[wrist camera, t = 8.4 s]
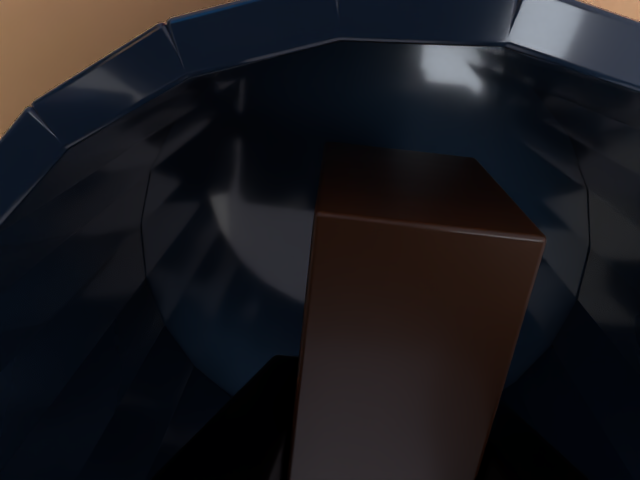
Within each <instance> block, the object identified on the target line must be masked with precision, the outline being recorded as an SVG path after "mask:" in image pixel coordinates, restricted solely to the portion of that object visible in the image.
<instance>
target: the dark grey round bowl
mask: <svg viewBox="0 0 640 480" xmlns="http://www.w3.org/2000/svg"><path fill="white" fill-rule="evenodd" d="M326 142H338V143H347V144H356V145H365V146H374V147H383V148H392V149H401V150H410V151H419V152H428V153H437V154H446V155H454V156H463V157H472V158H475V159H476V160H477V161H478V162H479V163H480V164H481V165H482V166H483V167H484V168H485V170H486V171H487V172H488V173H489V174H490V175H491V176H492V177H493V178H494V180H495V181H496V182H497V183H498V184H499V185H500V186H501V187H502V188H503V190H504V191H505V192H506V193H507V194H508V195H509V196H510V197H511V198H512V200H513V201H514V202H515V203H516V204H517V205H518V206H519V207H520V208H521V210H522V211H523V212H524V213H525V214H526V215H527V216H528V217H529V218H530V220H531V221H532V222H533V223H534V224H535V225H536V226H537V227H538V228H539V230H540V231H541V232H542V233H543V234H544V235H545V236H546V245H545V248H544V252H543V255H542V258H541V262H540V265H539V269H538V272H537V275H536V279H535V282H534V286H533V289H532V292H531V296H530V299H529V303H528V306H527V309H526V313H525V316H524V320H523V323H522V326H521V330H520V333H519V336H518V340H517V343H516V347H515V350H514V353H513V357H512V360H511V364H510V367H509V370H508V374H507V377H506V381H505V384H504V387H503V391H502V394H501V398H500V399H501V400H502V401H503V402H505V403H506V404H507V405H508V406H509V407H510V408H511V409H512V410H513V411H514V412H516V413H517V414H518V415H519V416H520V417H521V418H522V419H523V420H524V421H525V422H527V423H528V424H529V425H530V426H531V427H532V428H533V429H534V430H535V431H536V432H538V433H539V434H540V435H541V436H542V437H543V438H544V439H545V440H546V441H548V442H549V443H550V444H551V445H552V446H553V447H554V448H555V449H556V450H557V451H559V452H560V453H561V454H562V455H563V456H564V457H565V458H566V459H567V460H568V461H570V462H571V463H572V464H573V465H574V466H575V467H576V468H577V469H578V470H579V471H581V472H582V473H583V474H584V475H585V476H586V477H587V478H588V479H589V480H640V21H638V20H635V19H632V18H629V17H626V16H623V15H620V14H617V13H615V12H612V11H609V10H606V9H603V8H600V7H597V6H594V5H591V4H589V3H586V2H583V1H580V0H234V1H230V2H226V3H222V4H218V5H214V6H211V7H207V8H203V9H199V10H195V11H191V12H188V13H184V14H180V15H176V16H172V17H170V18H169V19H168V20H167V21H166V22H158V23H156V24H155V25H153V26H151V27H150V28H148V29H147V30H145V31H143V32H142V33H140V34H139V35H137V36H135V37H134V38H132V39H130V40H129V41H127V42H126V43H124V44H122V45H121V46H119V47H118V48H116V49H114V50H113V51H111V52H110V53H108V54H106V55H105V56H103V57H102V58H100V59H98V60H97V61H95V62H94V63H92V64H90V65H89V66H87V67H86V68H84V69H82V70H81V71H79V72H77V73H76V74H74V75H73V76H71V77H69V78H68V79H66V80H65V81H63V82H61V83H60V84H58V85H57V86H55V87H53V88H52V89H50V90H49V91H47V92H45V93H44V94H42V95H41V96H39V97H37V98H36V99H34V101H33V103H32V105H30V106H27V107H25V109H24V110H23V111H22V112H21V113H20V115H19V116H18V117H17V118H16V120H15V121H14V122H13V123H12V124H11V126H10V127H9V128H8V129H7V131H6V132H5V133H4V134H3V135H2V137H1V138H0V480H150V479H151V478H152V477H153V476H154V475H155V474H156V473H157V472H158V471H159V470H160V469H161V468H162V467H163V466H164V465H165V464H166V463H167V462H168V461H169V460H170V459H171V458H172V457H173V456H174V455H175V454H176V453H177V452H178V451H179V450H180V449H181V448H182V447H183V446H184V445H185V444H186V443H187V442H188V441H189V440H190V439H191V438H192V437H193V436H194V435H195V434H196V433H197V432H198V431H199V430H200V429H201V428H202V427H203V426H204V425H205V424H206V423H207V422H208V421H209V420H210V419H211V418H212V417H213V416H214V415H215V414H216V413H217V412H218V411H219V410H220V409H221V408H222V407H223V406H224V405H225V404H226V403H227V402H228V401H229V400H230V399H231V398H232V397H233V396H234V395H235V394H236V393H237V392H238V391H239V390H240V389H241V388H242V387H243V386H244V385H245V384H246V383H247V382H248V381H249V380H250V379H251V378H252V377H253V376H254V375H255V374H256V373H257V372H258V371H259V370H260V369H261V368H262V367H263V366H264V365H265V364H266V363H267V362H268V361H269V360H270V359H271V358H272V357H273V356H275V355H287V356H296V357H299V351H300V342H301V332H302V323H303V313H304V304H305V294H306V285H307V275H308V266H309V256H310V247H311V237H312V228H313V218H314V211H315V204H316V197H317V191H318V184H319V177H320V170H321V164H322V157H323V150H324V145H325V143H326Z"/></svg>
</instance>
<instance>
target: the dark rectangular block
mask: <svg viewBox="0 0 640 480" xmlns="http://www.w3.org/2000/svg"><path fill="white" fill-rule="evenodd" d="M545 245H546V236H545V235H544V234H543V233H542V232H541V231H540V230H539V228H538V227H537V226H536V225H535V224H534V223H533V222H532V221H531V220H530V218H529V217H528V216H527V215H526V214H525V213H524V212H523V211H522V210H521V208H520V207H519V206H518V205H517V204H516V203H515V202H514V201H513V200H512V198H511V197H510V196H509V195H508V194H507V193H506V192H505V191H504V190H503V188H502V187H501V186H500V185H499V184H498V183H497V182H496V181H495V180H494V178H493V177H492V176H491V175H490V174H489V173H488V172H487V171H486V170H485V168H484V167H483V166H482V165H481V164H480V163H479V162H478V161H477V160H476V159H475V158H472V157H463V156H454V155H446V154H437V153H428V152H419V151H410V150H401V149H392V148H383V147H374V146H365V145H356V144H347V143H338V142H326V143H325V145H324V150H323V157H322V164H321V170H320V177H319V184H318V191H317V197H316V204H315V211H314V218H313V228H312V237H311V247H310V256H309V266H308V275H307V285H306V294H305V304H304V313H303V323H302V332H301V342H300V351H299V361H298V370H297V380H296V389H295V399H294V408H293V418H292V427H291V437H290V446H289V456H288V465H287V475H286V480H476V479H477V476H478V472H479V469H480V465H481V462H482V459H483V455H484V452H485V448H486V445H487V442H488V438H489V435H490V432H491V428H492V425H493V421H494V418H495V415H496V411H497V408H498V404H499V401H500V398H501V394H502V391H503V387H504V384H505V381H506V377H507V374H508V370H509V367H510V364H511V360H512V357H513V353H514V350H515V347H516V343H517V340H518V336H519V333H520V330H521V326H522V323H523V320H524V316H525V313H526V309H527V306H528V303H529V299H530V296H531V292H532V289H533V286H534V282H535V279H536V275H537V272H538V269H539V265H540V262H541V258H542V255H543V252H544V248H545Z"/></svg>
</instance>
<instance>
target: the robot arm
mask: <svg viewBox="0 0 640 480" xmlns="http://www.w3.org/2000/svg"><path fill="white" fill-rule="evenodd" d="M298 361H299V357H296V356H287V355H275V356H273V357H272V358H271V359H270V360H269V361H268V362H267V363H266V364H265V365H264V366H263V367H262V368H261V369H260V370H259V371H258V372H257V373H256V374H255V375H254V376H253V377H252V378H251V379H250V380H249V381H248V382H247V383H246V384H245V385H244V386H243V387H242V388H241V389H240V390H239V391H238V392H237V393H236V394H235V395H234V396H233V397H232V398H231V399H230V400H229V401H228V402H227V403H226V404H225V405H224V406H223V407H222V408H221V409H220V410H219V411H218V412H217V413H216V414H215V415H214V416H213V417H212V418H211V419H210V420H209V421H208V422H207V423H206V424H205V425H204V426H203V427H202V428H201V429H200V430H199V431H198V432H197V433H196V434H195V435H194V436H193V437H192V438H191V439H190V440H189V441H188V442H187V443H186V444H185V445H184V446H183V447H182V448H181V449H180V450H179V451H178V452H177V453H176V454H175V455H174V456H173V457H172V458H171V459H170V460H169V461H168V462H167V463H166V464H165V465H164V466H163V467H162V468H161V469H160V470H159V471H158V472H157V473H156V474H155V475H154V476H153V477H152V478H151V479H150V480H286V475H287V465H288V456H289V446H290V437H291V427H292V418H293V408H294V399H295V389H296V380H297V370H298ZM476 480H589V479H588V478H587V477H586V476H585V475H584V474H583V473H582V472H581V471H579V470H578V469H577V468H576V467H575V466H574V465H573V464H572V463H571V462H570V461H568V460H567V459H566V458H565V457H564V456H563V455H562V454H561V453H560V452H559V451H557V450H556V449H555V448H554V447H553V446H552V445H551V444H550V443H549V442H548V441H546V440H545V439H544V438H543V437H542V436H541V435H540V434H539V433H538V432H536V431H535V430H534V429H533V428H532V427H531V426H530V425H529V424H528V423H527V422H525V421H524V420H523V419H522V418H521V417H520V416H519V415H518V414H517V413H516V412H514V411H513V410H512V409H511V408H510V407H509V406H508V405H507V404H506V403H505V402H503V401H502V400H501V399H500V401H499V404H498V408H497V411H496V415H495V418H494V421H493V425H492V428H491V432H490V435H489V438H488V442H487V445H486V448H485V452H484V455H483V459H482V462H481V465H480V469H479V472H478V476H477V479H476Z"/></svg>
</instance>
